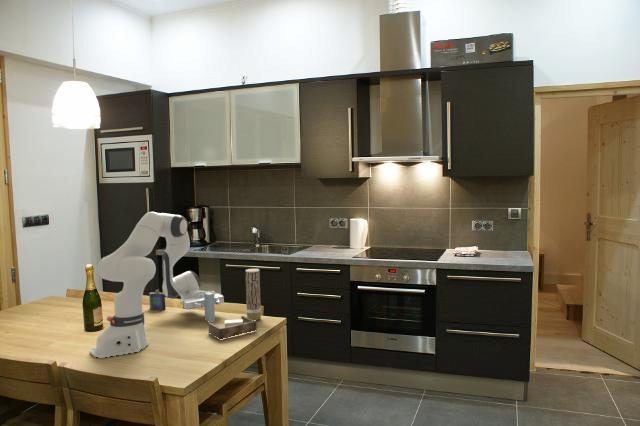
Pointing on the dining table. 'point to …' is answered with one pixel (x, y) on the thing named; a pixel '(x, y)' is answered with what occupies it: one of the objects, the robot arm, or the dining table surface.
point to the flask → (157, 301)
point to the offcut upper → (233, 322)
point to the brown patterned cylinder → (253, 294)
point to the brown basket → (233, 328)
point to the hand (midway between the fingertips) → (210, 304)
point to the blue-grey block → (209, 306)
